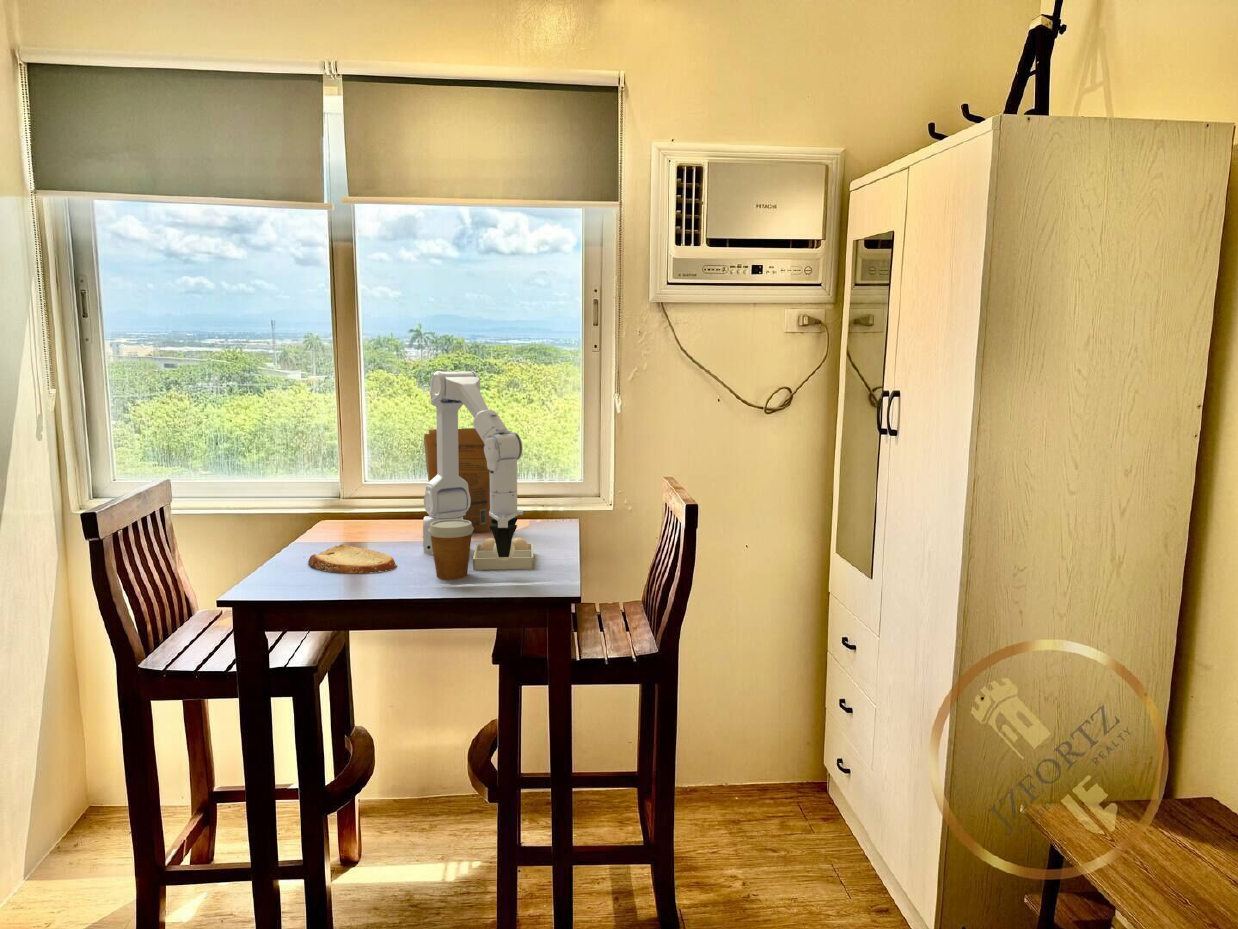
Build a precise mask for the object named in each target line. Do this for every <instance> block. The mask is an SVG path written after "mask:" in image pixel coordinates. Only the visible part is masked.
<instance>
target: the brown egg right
mask: <svg viewBox="0 0 1238 929" xmlns="http://www.w3.org/2000/svg"><path fill="white" fill-rule="evenodd" d="M512 543H513V544H514V546H515V550H528V544H527V543H528V542H527V541H526V539H524V538H523V537H515V538H512Z"/></svg>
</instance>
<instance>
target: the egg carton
mask: <svg viewBox="0 0 1238 929" xmlns="http://www.w3.org/2000/svg"><path fill="white" fill-rule="evenodd" d="M481 544H482V543H479V544H475V549H474V553H473V556H472V557H473V558H472V570H477V571H478V570H511V569H512V570H514V569H515V570H516V569H518V570H520V569H521V570H522V569H525V570H526V569H534V543H533V542H532V543H531V542H529V543H528V542H527V544H528V550H515V553H514V555H513V556H512V558H510V559H509V560H505V561H502V560H499V559H497V558H496V557H495V555H494V553H493V551H481V550H480V547H481Z"/></svg>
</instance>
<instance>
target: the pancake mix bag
mask: <svg viewBox="0 0 1238 929" xmlns="http://www.w3.org/2000/svg"><path fill="white" fill-rule="evenodd" d="M423 436H424V437H423V447H424V454H425V467H426V468H425V469H426V474H427V479H428V480H427V482H429V481H431V480H432V479H433V478H434V477H435V476H436V475H437V429H429V430H428V433H424V434H423ZM484 447H485V444H484V442H483V441H482V439H481V437H480V436H479V434H478V433H477V431H476V429H475V428H474V427H470V428H469V427H467V428H458V458H459V477H461V478H462V479H464V480H465V481H466V482H467V483H468V489H469V494H470V498H471V504H470V507H469V509H468V511H467V512H466V515H464V516H463V520H468V521H470V522H471V523H472V527H473V528H474V530H473V533H482V534H483V533H488V532H492V531H491V529H490V524H493V523H492V521H491V518H492V517H491V516H489V511H490V470H489V469H488V467H487V460H486V457H485V453H484ZM446 489H447V488H446Z"/></svg>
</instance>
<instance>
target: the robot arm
mask: <svg viewBox="0 0 1238 929" xmlns="http://www.w3.org/2000/svg"><path fill="white" fill-rule="evenodd" d="M429 384H430V385H429V387H430V388H429V389H430V390H429V391H430V395H429V396H430V405H431V406H434V407H435V409H436V413H435V415H436V430H437V475H436V476H435V477H434V478H433V479H432V480H431V481H427V483H426V484H425V493H424V497H423V506H424V509H425V511H426V513H427V514H428V516H424V517H423V522H422V523H423V525H422V547H423V555H433V548H432V542H431V535H430V534H429V532H428V529H429V528H430V524H431V523H432V522H434V521H439V520H446V519H462V520H463V516H464V515H466V512H467V511H468V509H469V507H470V504H471V498H470V494H469V489H468V483H467V482H466V481H465V480H464V479H462V478H461V477H459V458H458V429H459V410H460V409H461V408H462V406H463V405H464V407H465V408H466V409H467V411H468V412H469V413H470V414H471V416H472V417H473V428H475V429H476V431H477V433H478V434H479V436H480V437H481V439H482V441H483V442H484V444H485V447H484V453H485V457H486V460H487V467H488V469H489V470H490V511H489V516H491V517H492V518H491V521H492V523H493V524H490V529H491V531H490V532H491V533H492V535H493V538H494V539H495V542H496V547H497V552H498V556H499V557H509V554H510V548H511V542H512V539H513V537H514V535H515V532H516V530H517V528H518V524H516V523H517V521H518V516H523V514H524V511H523V510H522V509H518V460H520V458H522V454H523V442H522V439H521V437H520V435H519V433H518V432H513V431H512V430H509V429H508V428H507V426H506V425H505V424H504V422H503V420H502V419H501V417H500V416H499V414H498V413H497V412H496V411H495V410H493V409H489V408H488V406H487V403H486V401H485V399H484V398H483V396H482V393H481V379H480V377H479V375H478V373H476V371H474V370H469V371H440V370H437V371H435V372H434V374H433V375H432V377H431V379H430V383H429ZM446 488H447V489H446Z"/></svg>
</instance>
